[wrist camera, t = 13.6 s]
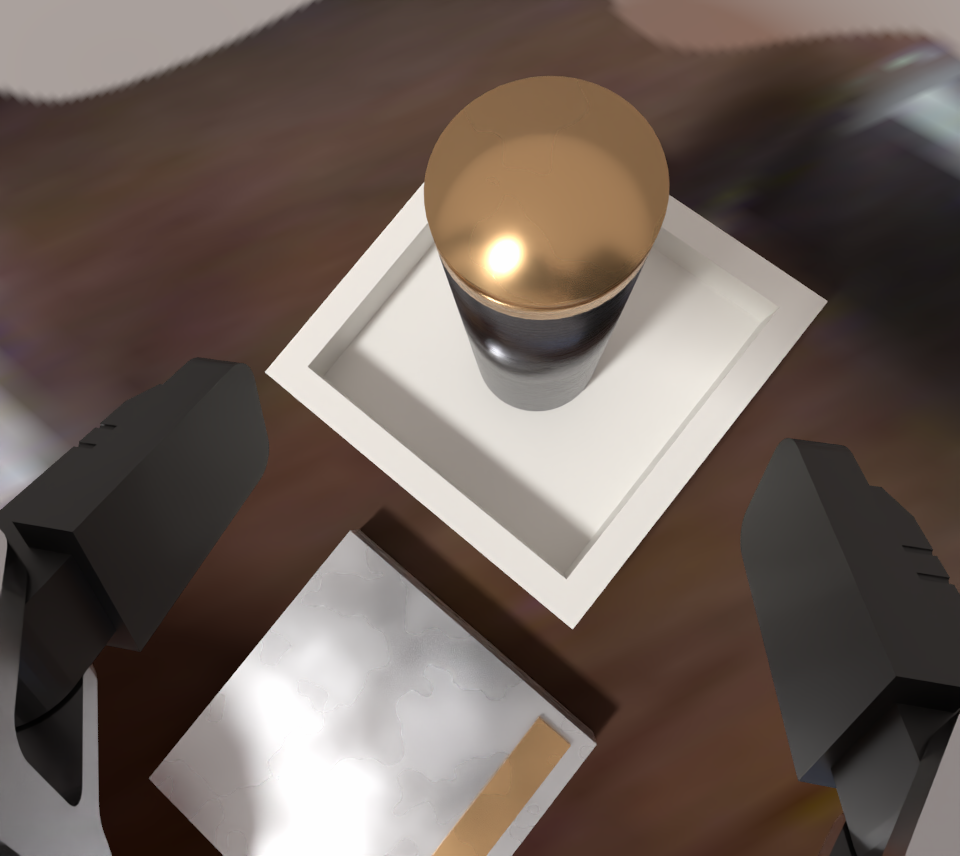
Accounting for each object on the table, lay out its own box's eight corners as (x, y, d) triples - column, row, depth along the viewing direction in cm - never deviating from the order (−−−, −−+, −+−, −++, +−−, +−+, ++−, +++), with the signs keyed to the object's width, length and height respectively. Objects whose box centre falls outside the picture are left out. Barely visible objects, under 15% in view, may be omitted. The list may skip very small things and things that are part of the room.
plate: (168, 764, 19) (145, 780, 18) (358, 529, 20) (348, 530, 19) (392, 993, 18) (383, 1026, 17) (593, 731, 18) (597, 746, 17)
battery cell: (453, 362, 19) (375, 210, 10) (527, 272, 20) (525, 34, 10) (546, 435, 19) (565, 353, 9) (621, 342, 19) (719, 162, 9)
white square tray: (292, 386, 21) (264, 372, 19) (508, 128, 21) (505, 84, 19) (567, 615, 19) (572, 629, 17) (794, 324, 20) (827, 301, 17)
